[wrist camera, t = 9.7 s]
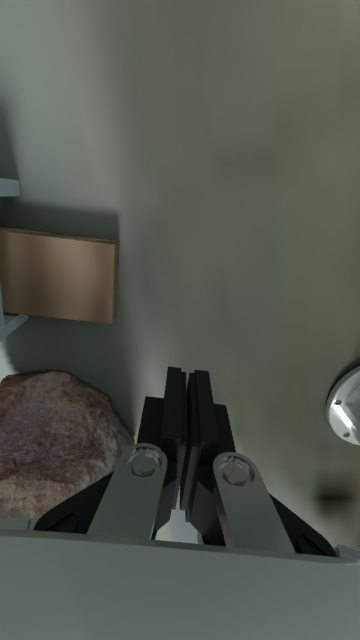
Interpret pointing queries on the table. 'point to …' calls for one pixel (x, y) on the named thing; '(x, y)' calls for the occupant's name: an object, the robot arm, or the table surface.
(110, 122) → the table surface
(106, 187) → the table surface
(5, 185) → the bridge
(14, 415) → the stone
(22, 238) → the panel
